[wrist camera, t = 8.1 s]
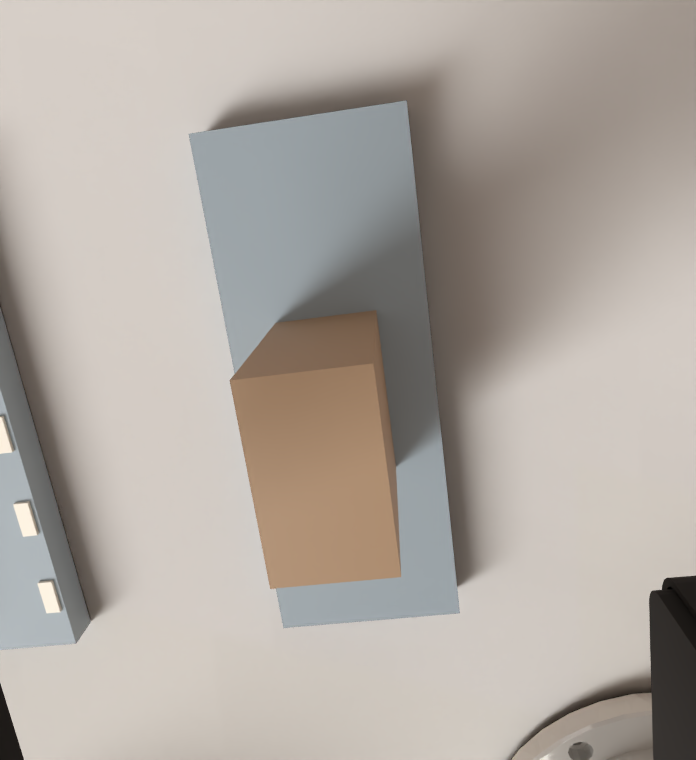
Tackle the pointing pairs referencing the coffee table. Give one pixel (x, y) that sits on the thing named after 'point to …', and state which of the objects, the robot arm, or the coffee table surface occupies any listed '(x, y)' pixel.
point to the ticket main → (31, 531)
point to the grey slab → (332, 361)
